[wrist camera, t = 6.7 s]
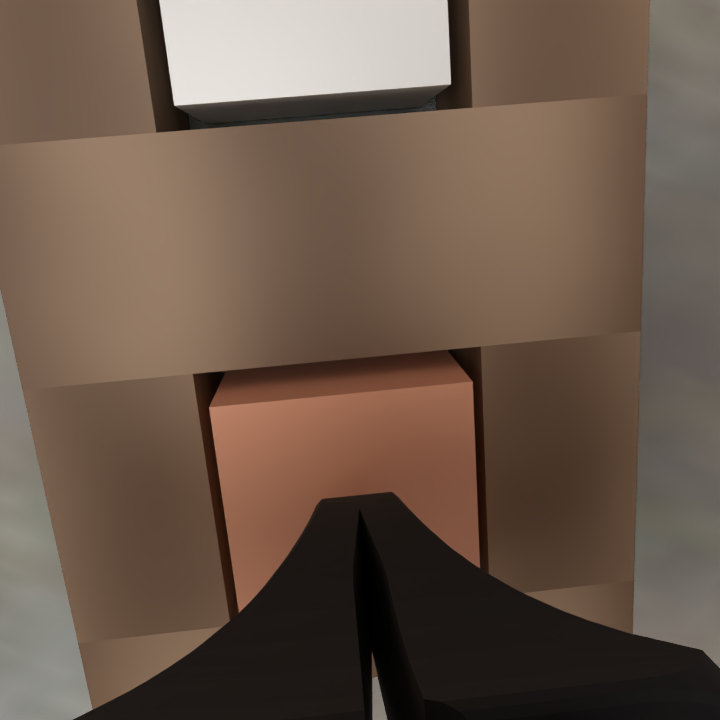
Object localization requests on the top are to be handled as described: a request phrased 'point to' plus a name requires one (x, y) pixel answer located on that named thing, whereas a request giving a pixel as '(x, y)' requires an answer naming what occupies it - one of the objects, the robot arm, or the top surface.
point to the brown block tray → (321, 295)
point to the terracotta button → (342, 450)
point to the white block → (304, 56)
